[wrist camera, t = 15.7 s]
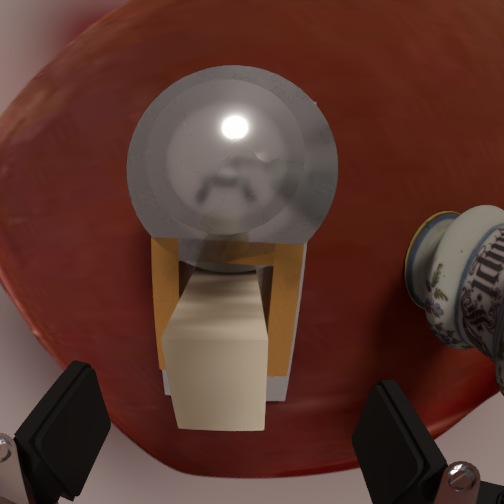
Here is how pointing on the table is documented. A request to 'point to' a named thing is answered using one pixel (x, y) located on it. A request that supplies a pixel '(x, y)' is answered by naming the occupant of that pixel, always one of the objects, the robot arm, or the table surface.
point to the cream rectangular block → (218, 353)
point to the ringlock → (233, 193)
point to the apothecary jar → (462, 280)
